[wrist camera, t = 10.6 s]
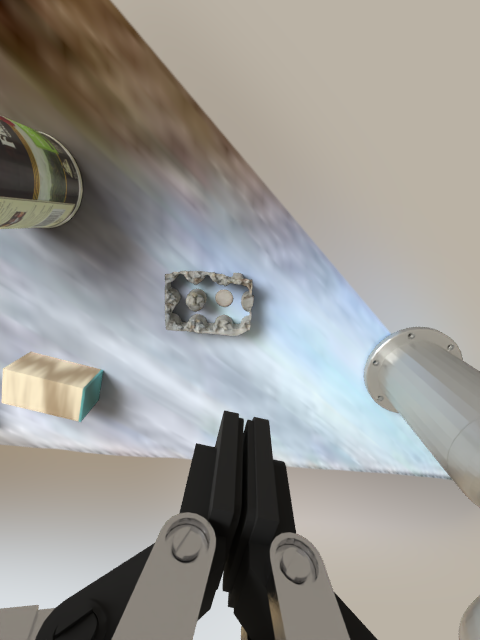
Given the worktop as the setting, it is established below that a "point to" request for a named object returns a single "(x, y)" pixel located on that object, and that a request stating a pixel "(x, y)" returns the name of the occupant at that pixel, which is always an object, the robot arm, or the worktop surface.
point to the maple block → (51, 386)
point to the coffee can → (35, 179)
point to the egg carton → (198, 300)
